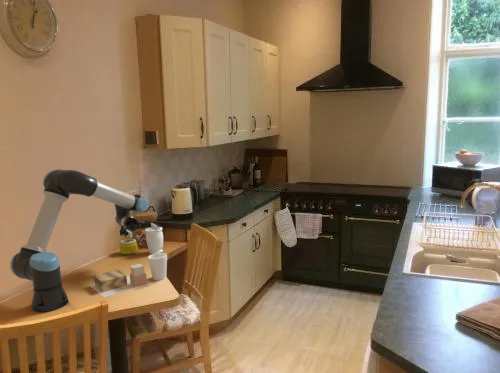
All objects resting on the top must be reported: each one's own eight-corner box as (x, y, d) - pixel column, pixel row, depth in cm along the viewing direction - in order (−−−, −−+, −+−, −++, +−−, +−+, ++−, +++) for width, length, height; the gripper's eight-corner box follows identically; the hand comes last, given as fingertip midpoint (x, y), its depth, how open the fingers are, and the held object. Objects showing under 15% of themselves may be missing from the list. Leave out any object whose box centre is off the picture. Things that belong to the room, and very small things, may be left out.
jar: (160, 254, 264) (158, 230, 262) (144, 254, 266) (142, 230, 264) (167, 249, 274) (165, 226, 272) (151, 249, 276) (149, 226, 274)
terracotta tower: (135, 286, 210) (133, 268, 208) (130, 283, 214) (128, 266, 213) (146, 283, 213) (145, 265, 212) (142, 280, 218) (140, 263, 216)
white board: (103, 300, 199) (103, 297, 199) (90, 288, 215) (90, 285, 215) (152, 286, 213) (152, 283, 213) (136, 276, 229) (136, 273, 229)
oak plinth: (102, 292, 205) (101, 281, 205) (94, 285, 215) (93, 275, 214) (127, 285, 212) (126, 275, 212) (118, 278, 222) (117, 269, 221)
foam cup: (146, 283, 217) (144, 258, 215) (155, 276, 226) (153, 252, 224) (163, 284, 215) (161, 259, 213) (172, 277, 223) (170, 253, 221)
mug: (133, 255, 266) (131, 236, 264) (117, 255, 268) (115, 236, 266) (142, 249, 278) (140, 231, 276) (126, 249, 280) (125, 231, 278)
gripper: (152, 224, 248) (167, 232, 231) (108, 235, 235) (121, 245, 217) (150, 211, 246) (165, 218, 229) (106, 222, 233) (119, 230, 216)
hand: (144, 231), depth 223 cm, fingers open, 13 cm apart
